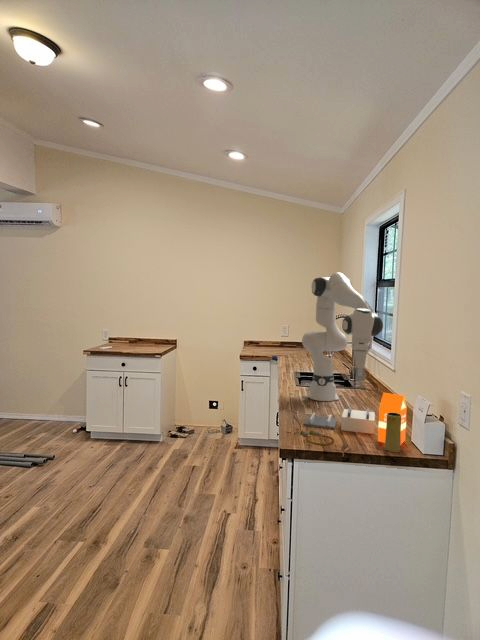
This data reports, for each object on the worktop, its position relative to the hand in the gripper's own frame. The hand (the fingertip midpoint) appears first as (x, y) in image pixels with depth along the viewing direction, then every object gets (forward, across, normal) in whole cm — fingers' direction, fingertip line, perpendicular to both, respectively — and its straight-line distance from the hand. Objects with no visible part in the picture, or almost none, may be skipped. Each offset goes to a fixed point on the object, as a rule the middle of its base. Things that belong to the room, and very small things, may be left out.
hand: (360, 374), depth 190 cm
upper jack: (+24, 0, 0) cm, 25 cm away
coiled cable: (+25, +22, -15) cm, 37 cm away
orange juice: (+25, +14, +14) cm, 32 cm away
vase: (+24, +24, +14) cm, 37 cm away
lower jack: (+25, 0, -17) cm, 30 cm away
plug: (+3, 0, 0) cm, 3 cm away
